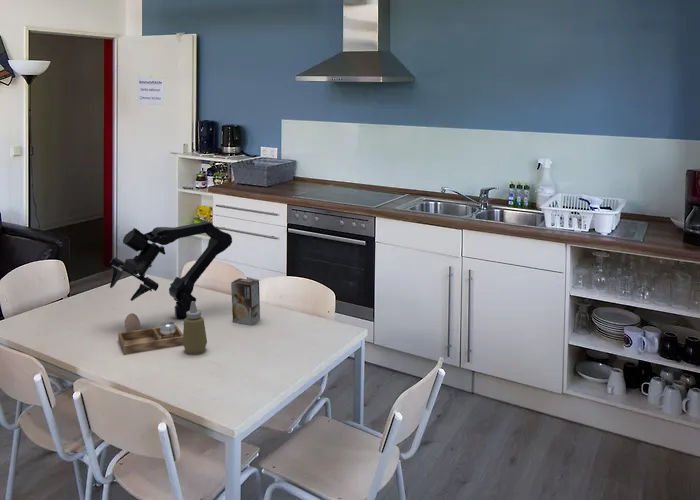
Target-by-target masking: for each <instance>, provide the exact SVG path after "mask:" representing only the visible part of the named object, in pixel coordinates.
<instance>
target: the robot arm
mask: <svg viewBox="0 0 700 500" xmlns="http://www.w3.org/2000/svg"><path fill="white" fill-rule="evenodd" d="M202 234H206V235H207V236H208V237H209V239H208V243H207V247H206V248H205V250H204V251H203V252H202V253H201V255H200V256H199V257H198V259H196V261H195V262H194V264H192V266H191V267H190V268H189V269H188V271H187V272H186V274H184V276H182V277H178V276H176V277H175V279H174V280H173V281H172V282H171V283H170V284H169V285H170V286H169V288H168V292H169V296H170V297H171V298H173V300H174V301H175V305H174V317H175V318H176V319H177V320H184V319H185V318H186V317H187V312H188V311H190V306H191V302H192V301H195V303H196V302H197V298H196V297H195V296H194V295H192V293H193V291H194V286H195V284H196V282H197V281H198V280H199V279H200V277H201V276H202V274H203V273H205V271H206V269H208V267H209V266H210V265H211V263H212V262H213V261H214V259H215V258H216V257H217V256H218V255H219V254H221V253H223V252H224V251H226V250H227V249H228V248H229V247H230V246H231V245H232V243H233V237H232V235H231V234H230V233H229V232H225V231H223V230H221V229H219V228H218V227H216V225H214V224H213V223H212V222H210V221H206V220H203V221H201V222H196V223H190V224H186V225H180V226H176V227H170V226H169V227H168V226H157V227H154V228H153V229H152V230H151V231H149V232H146V233H143V232H141V231H140V230H139V229H138V228H135V227H133V228H132V230H130V231H128V233H126V234H125V235H124V236H123V239H122V244H123V245H125V246H126V247H129V249H131V250H132V251H134V252H136V253H137V252H139V253H138V255H134V257H133V258H127V259H125V261H122V260H120V259H119V258H118V257H113V258H111V260H110V261H109V263H110V264H111V268H112V277H111V282H110V285H109V288H110V289H113V287H114V286H115V285H116V283H117V282H118V281H119V280H120V279H121V277H122V276H123V275H124V272H123V271H125V272H126V273H128V274H130V276H132V277H134V278H136V279H137V280H139V281H141V282H143V284H142V283H140V284H139V286H138V288H137V290H136V291H135V292H134V293H133V295H132V296H131V298H130V301H131V302H133V301H135V300H137V298H139V297H141V296H142V295H143V294H145V293H147V292H149V291H150V292H152V291H155V292H157V290H158V289H159V283H158V282H156V281H155V280H154V279H151V278H150V277H148V276H147V277H146V272H148V270H149V269H150V268H152V266H153V265H152V264H153V263H154V261H155V260H156V258H157V257H158V255H159V253H160V254H162V255H166V252H165V247H164V246H166V245H169V244H171V243H174V242H175V241H177V240H179V239H181V238H187V237H188V238H189V237H192V236H196V235H202ZM150 242H151V243H150ZM157 244H159V245H157ZM160 245H161V246H160Z"/></svg>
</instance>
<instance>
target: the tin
mask: <svg viewBox="0 0 700 500" xmlns="http://www.w3.org/2000/svg"><path fill="white" fill-rule="evenodd" d="M175 325H176V323H175V322H174V321H163V322H161V323H160V324H159V327H160V334H161V340H162V339H168V338H175V337H176V331H175Z"/></svg>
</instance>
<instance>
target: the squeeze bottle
mask: <svg viewBox="0 0 700 500" xmlns="http://www.w3.org/2000/svg"><path fill="white" fill-rule="evenodd" d="M201 313H202V312H201V310H198V308H197V305H196V302H195V301H192V302H191V306H190V311H188V312H187V317H186V318H185V319H183V331H182V332H183V333H182V334H183V345H182V346H183V347H184V350H185V353H187V354H189V355H199V354H202V353H204V351H206V347H207V343H208V340H207V331H206V327H205V326H206V325H205V320H204V319H205V318H204V317H202V314H201Z"/></svg>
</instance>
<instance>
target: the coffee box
mask: <svg viewBox="0 0 700 500" xmlns="http://www.w3.org/2000/svg"><path fill="white" fill-rule="evenodd" d="M230 287H231V309H232V310H231V312H232V323H236V324H243V325H248V326H254V325H256V324H257V323H259V322H260V321H261V305H260V281H259V280H255V279H247V278H242V277H241V278H240V277H239V278H237V279H235V280H233V281H231V286H230Z"/></svg>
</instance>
